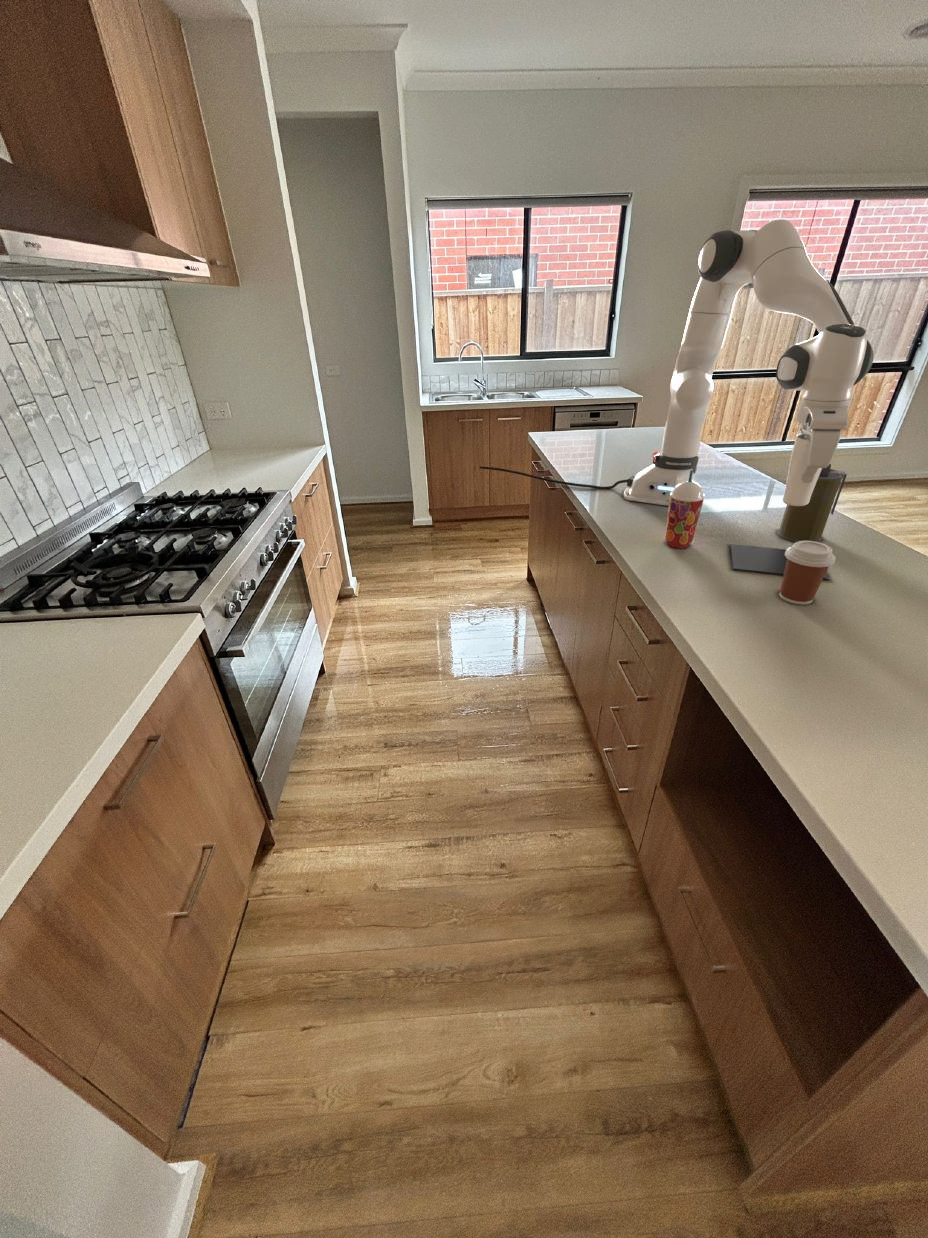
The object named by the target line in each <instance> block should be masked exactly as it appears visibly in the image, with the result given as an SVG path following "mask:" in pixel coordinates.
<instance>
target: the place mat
mask: <svg viewBox="0 0 928 1238" xmlns="http://www.w3.org/2000/svg"><path fill="white" fill-rule="evenodd" d="M729 548H730V556H731V563H732V570H733V571H741V572H749V573H757V574H758V573H759V574H768V575H776V576H783V575H784V571H785V566H786V562H787V558H786V556H785V552H786V549H784V548H783V549H782V548H775V547H764V546H754V545H753V546H752V545H742V544H734V543H733V544H729ZM829 580H830V579H829V576H828V574H827V573H826V574H825V576H824V578H823V580H822V581H829Z"/></svg>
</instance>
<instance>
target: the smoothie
mask: <svg viewBox="0 0 928 1238" xmlns="http://www.w3.org/2000/svg"><path fill="white" fill-rule="evenodd" d="M692 474H693V470H690V476H689V481H684V482H681V483H679V484H678V485H677V486H676V487H675V488H674V489H673V491H672V492H671V493H670V500H669V506H668V510H667V511H668V512H667V519H666V527H665V528H666V529H665V537H664V538H665V540H666V544H667V545H668V546H670V547H672V548H676V549H682V548H683V549H685V548H687V547H689V546H690V544H691V543H692V542H693V540H694V537H695V533H696V528H697V525H698V522H699V518H700V515H701V511H702V508H703V503H704V501H705V498H706V496H705V493H704V491H703V488H702V486H701V485H700V484H699V483H698V482H696V481H695V480H694V481H691V480H692Z"/></svg>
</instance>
